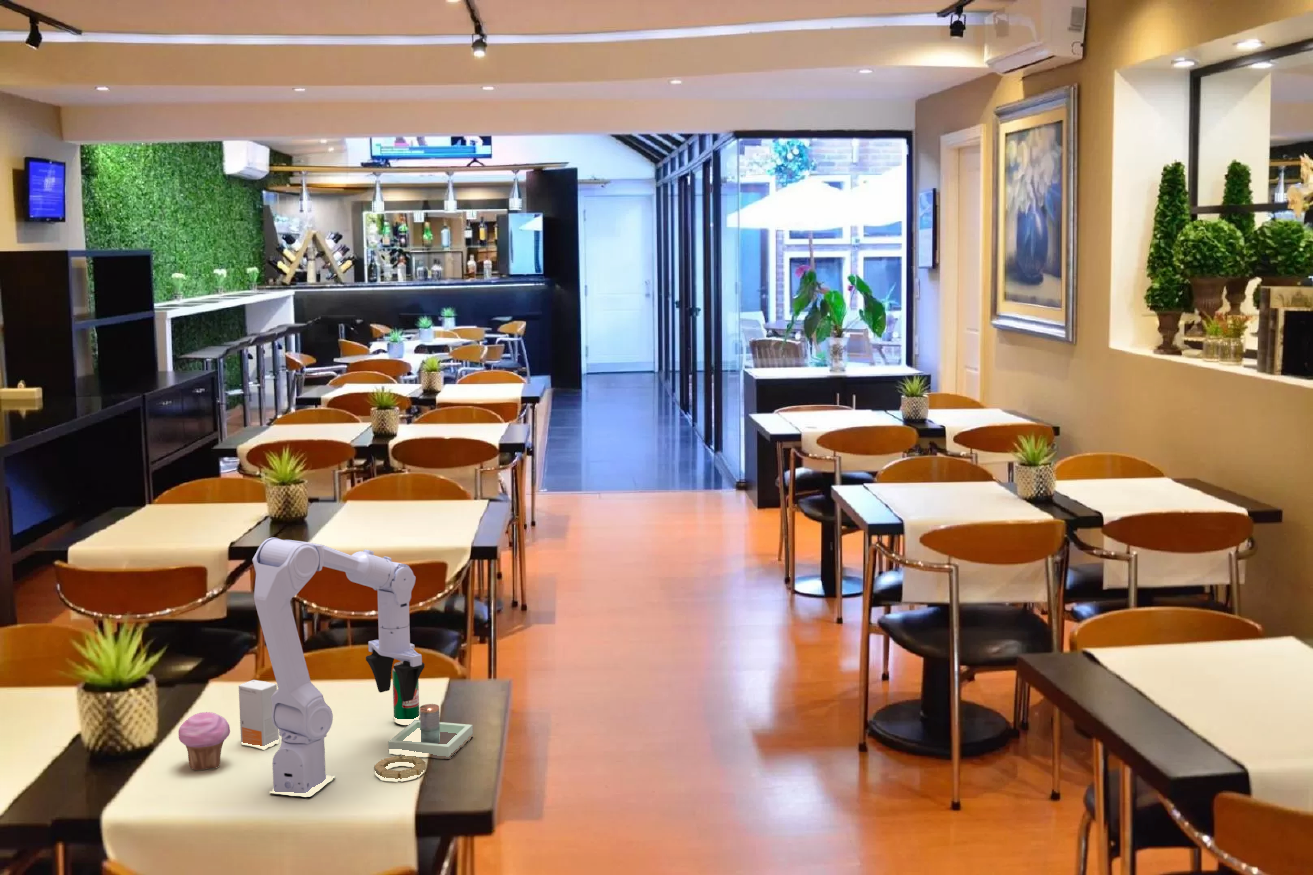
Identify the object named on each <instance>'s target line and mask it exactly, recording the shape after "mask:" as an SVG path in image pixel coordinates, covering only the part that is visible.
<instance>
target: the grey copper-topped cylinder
mask: <svg viewBox="0 0 1313 875" xmlns="http://www.w3.org/2000/svg"><path fill="white" fill-rule="evenodd" d="M419 714H420V719H419V720H420V730H421V742H423V743H435V744H438V743H439V742H440V722H441V721H440V705H438V704H435V703H427V704H423V705H421V706H419Z"/></svg>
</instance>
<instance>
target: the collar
mask: <svg viewBox="0 0 1313 875" xmlns="http://www.w3.org/2000/svg"><path fill="white" fill-rule="evenodd" d="M395 762H409V763H413V764H414V765H415V766H414V767H413V768H407V769H403V770H393V769H389V770H387V769H386V768H385V767H386V766H388V764H390V763H395ZM425 769H426V770H427V762H425V760H423V758H422V757H416V756H405V755H402V756H401V755H393V756H390V757H386V758H383V759H380V760H379V761H378V762H376V764H374V767H373V771H374V770H375V771H376V773H377V774H378V775H380V776H382V777H384V778H385V777H386V778H395V779H398V778H400V779H402V778H408V777H410V776H414V775H420V774H421V772H423V770H425Z"/></svg>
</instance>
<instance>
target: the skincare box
mask: <svg viewBox="0 0 1313 875" xmlns="http://www.w3.org/2000/svg"><path fill="white" fill-rule="evenodd" d="M277 689H278V686H277V683H273V682H268V681H265V680H264V681H263V680H257V679H252V680H249V681H245V682H243V683H241V684H239V685H238V700H239V704H238V705H239V721H240V722H239V727H240V728H239V729H240V743H241V742H243V743H248V744H252V745H260V746H265V745H267V744H269V743H271V742H273V741H275V740H278V739H279V740H280V735H279V729H278V728H276V727H275V726H274V724H273V722H272V717H271V715H272V700H271V696H272V695H273V694H274V692H275V691H276V690H277Z"/></svg>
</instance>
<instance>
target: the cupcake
mask: <svg viewBox="0 0 1313 875" xmlns="http://www.w3.org/2000/svg"><path fill="white" fill-rule="evenodd" d="M230 734H231V728H230V724H229V722H228V721H227V719H226V718H225V717H223V716H221V715H219V714H217V713H215V712H210V711H209V712H208V711H206V712H205V711H204V712H199V713H195V714H193V715H191V716H190V717H188V718H187V719H186V720H185V721H184V722H182V723H181V725H180V726H179V728H178V740H179V741H180V743H181V744H183V745H184V746H185V748H186V749H187V751H186V752H187V755H188V756H187V757H188V758H187V759H188V765H189V767H190V769H192V770H193V771H200V770H208V769H209V770H210V768H214V769H217V768H216V767H218V766H219V767H220V764H221V754H222V749H223V744H224V742H225V740H226V739H228V737H229V736H230ZM219 767H218V768H219Z"/></svg>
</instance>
